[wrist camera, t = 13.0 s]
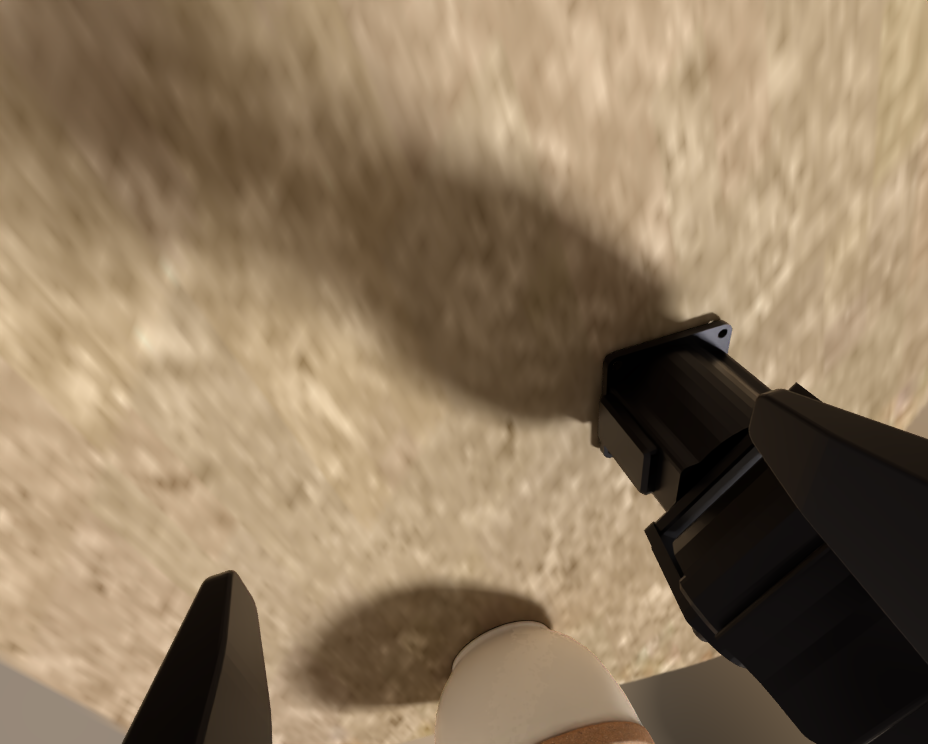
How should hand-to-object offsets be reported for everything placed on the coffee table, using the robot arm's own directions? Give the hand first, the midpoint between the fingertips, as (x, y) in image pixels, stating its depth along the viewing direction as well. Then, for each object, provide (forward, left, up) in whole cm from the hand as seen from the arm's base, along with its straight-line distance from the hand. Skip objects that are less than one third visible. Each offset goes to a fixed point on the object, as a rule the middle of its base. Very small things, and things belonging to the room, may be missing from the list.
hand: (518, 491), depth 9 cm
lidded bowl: (-2, +32, -13) cm, 35 cm away
